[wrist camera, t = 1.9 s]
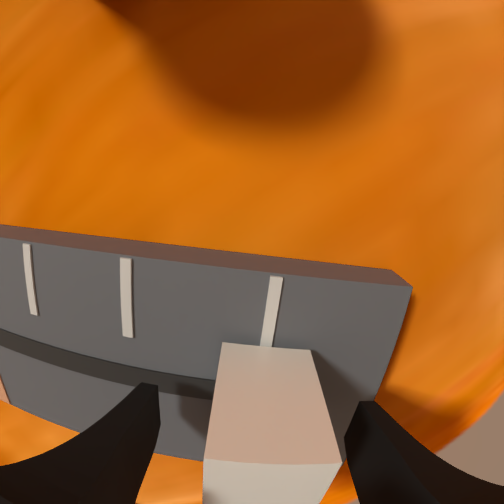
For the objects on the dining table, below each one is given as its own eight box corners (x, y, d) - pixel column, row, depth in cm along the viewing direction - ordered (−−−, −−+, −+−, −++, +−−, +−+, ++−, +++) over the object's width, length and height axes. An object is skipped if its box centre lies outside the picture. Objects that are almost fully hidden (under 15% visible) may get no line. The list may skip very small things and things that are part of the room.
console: (335, 439, 15) (342, 467, 13) (-41, 353, 14) (-57, 366, 12) (391, 269, 12) (414, 288, 10) (-67, 216, 11) (-89, 222, 9)
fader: (284, 442, 12) (294, 540, 7) (214, 437, 12) (202, 536, 7) (309, 349, 10) (342, 463, 6) (222, 341, 10) (203, 458, 5)
